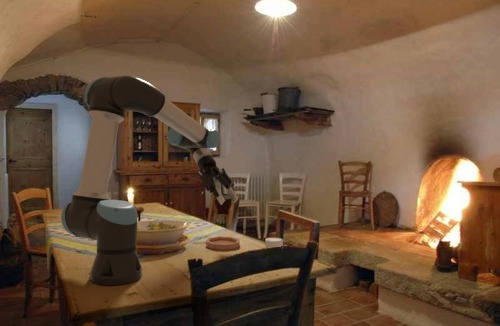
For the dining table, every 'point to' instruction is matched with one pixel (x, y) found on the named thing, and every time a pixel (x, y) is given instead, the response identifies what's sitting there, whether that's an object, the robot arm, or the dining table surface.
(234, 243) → the ring saucer
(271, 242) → the white cup
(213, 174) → the robot arm
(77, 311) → the dining table surface
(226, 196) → the mate gourd
